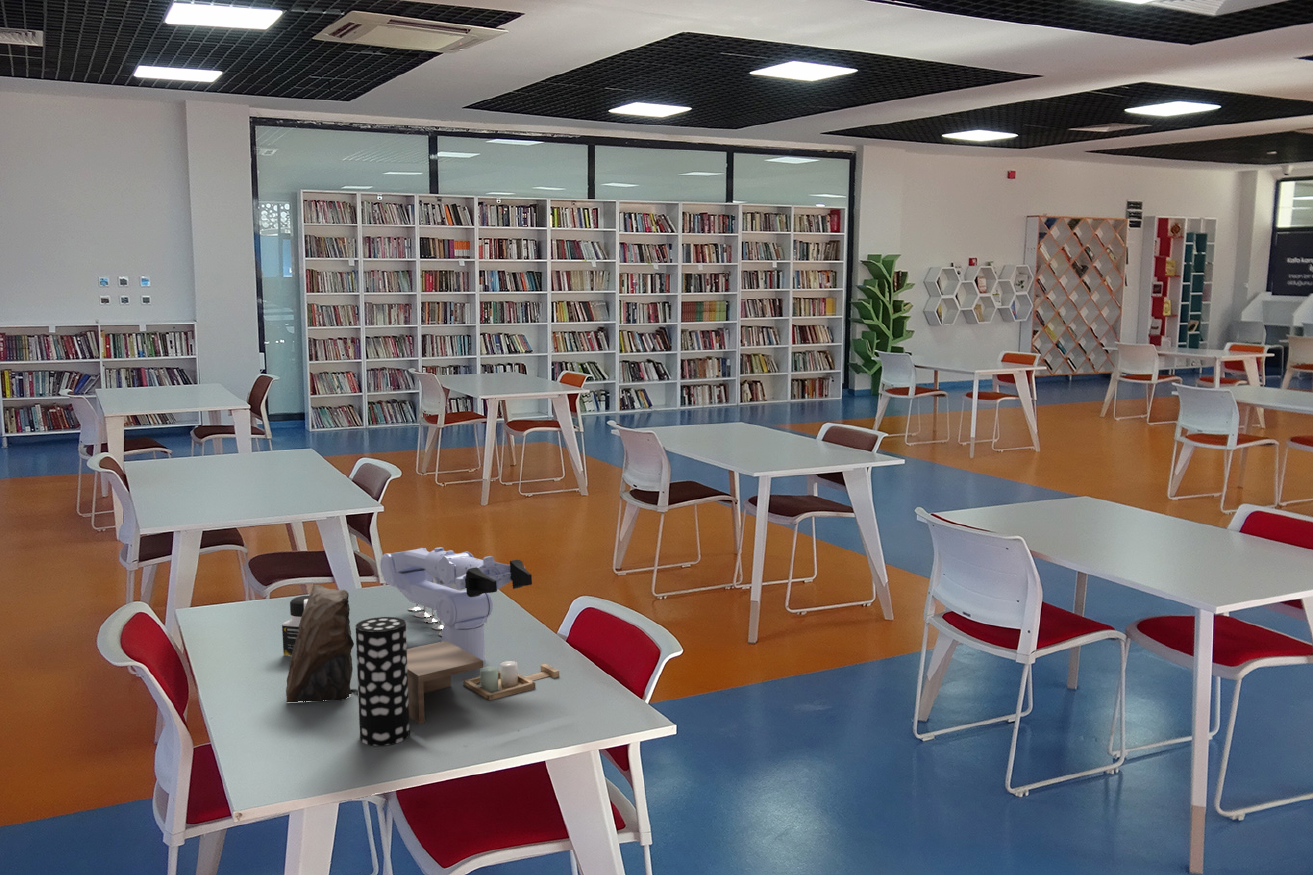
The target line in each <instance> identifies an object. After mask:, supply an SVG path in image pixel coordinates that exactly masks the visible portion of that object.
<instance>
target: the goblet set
mask: <svg viewBox="0 0 1313 875" xmlns="http://www.w3.org/2000/svg"><path fill="white" fill-rule="evenodd" d="M432 583H436V584H439V585H442V586H446V587H449V588H452V589H456V590H459V591H463V590H464V589H458V588H456V582H454V583H450V584H447V585H445V584H444V582H443V581H442V580H441V578H439V577H435V576H433V581H432ZM415 604H416V603H415ZM414 606H415V607H413V606H410V608H409V607H408V608H407V610H408V611H409V610H415V611H414V612H416V613H414V616H415V617H416V618H422V619H423V618H424V617H426V618H425V619H424V620H423V622H424V623H426V622H428V623H427V624H433V623H432V622H437V621H438V620H440V622H439V624H440V625H439V624H434V625H432V628H431V629H434V630H437V631H438V630H439V631H440V632H438V635H439V636H440V637H442V630H441V629H443V627H444V625H445V624H443V623H442V620H441V619H440V618H438V617H437V618H436V617H434V616H433V613H434V609H431V612H432V613H430V611H426V610H427V607H425V606H423V607H424V611H417V610H421V609H423V607H420V606H421V605H419V604H416V605H414ZM430 616H432V617H430ZM442 624H443V625H442Z"/></svg>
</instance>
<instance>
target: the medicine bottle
mask: <svg viewBox="0 0 1313 875" xmlns="http://www.w3.org/2000/svg"><path fill="white" fill-rule="evenodd" d="M308 598H309V595H301V596H297V597H293V599H291V600H290V601H289V608H290V610H289V611H290V612H289V613H290V620H287V621H284V622H283V623H282V625H281V631H282V651H283V652H282V653H283V656H284V655H288V656H287V657H291V656H292V651H293V648H294V645H295V642H296V638H297V634H298V630H299V624H300V620H301V617H302V614H303V611H304V609H305V607H306V604H307V601H308Z"/></svg>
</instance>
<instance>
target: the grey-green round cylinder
mask: <svg viewBox="0 0 1313 875" xmlns="http://www.w3.org/2000/svg"><path fill="white" fill-rule="evenodd" d="M498 670H499V669H498V667H497V666H493V665H491V666H489V665H487V666H483V668H479V676H480V683H479V687H481V688H483V689H484V690H486V691H488V692H489V693H494V692H498V691H499V689H498Z"/></svg>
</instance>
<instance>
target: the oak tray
mask: <svg viewBox="0 0 1313 875" xmlns="http://www.w3.org/2000/svg"><path fill="white" fill-rule="evenodd" d="M550 677H551V678H554V679H555V678H559V677H560V670H559V669H557V668H555V667H553V666H551V665H548V664H547V663H544V664H540V672H537V673H533V674H530V675H526V676H523V675H522V674H520V673H518V685H516V686H513V687H503V686H501V679H500V670H499V671H498V690H497V691H495V692H488V691H486V690H484V689H483V688H481V687H480V685H478V684H480V675H479V676H476V677H472V678H469V679H464V680H463V686H465V687H467V688H468V689H470V690H471V691H473V692H475V693H476V694H478V695H480V696H481V697H483V698H485V699H486V700H487V701H492V700H493V701H494V700H496V699H500V698H503V697H507V696H510V695H516V694H518V693H523V692H526V691H531V690H534V689H536V687H537V686H536V682H535V681H538V680H539V681H540V680H543V679H546V678H550Z"/></svg>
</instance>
